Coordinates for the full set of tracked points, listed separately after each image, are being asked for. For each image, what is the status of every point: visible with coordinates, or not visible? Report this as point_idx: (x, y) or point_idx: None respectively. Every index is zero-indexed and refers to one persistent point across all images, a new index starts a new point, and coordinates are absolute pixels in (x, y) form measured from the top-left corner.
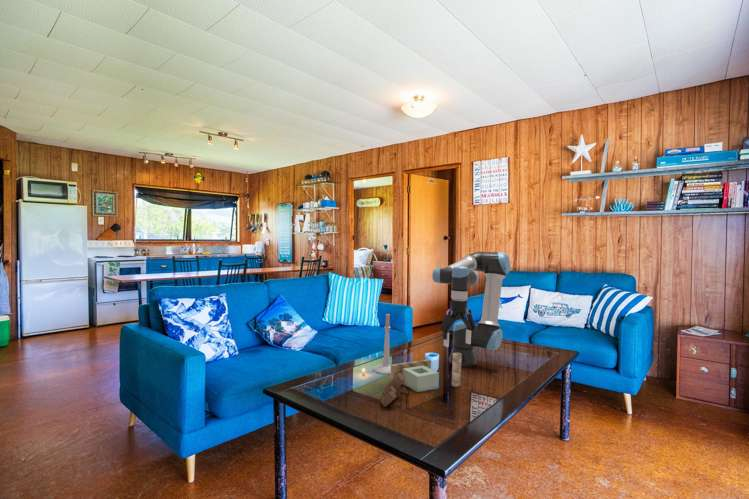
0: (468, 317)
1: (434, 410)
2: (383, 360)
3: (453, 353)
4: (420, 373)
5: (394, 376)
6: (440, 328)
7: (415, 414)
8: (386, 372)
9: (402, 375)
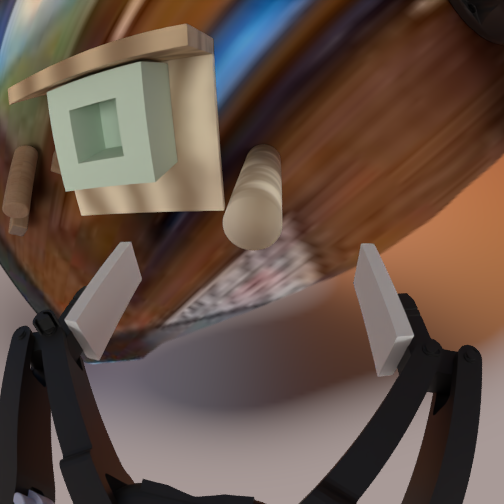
0: (419, 495)
1: None
2: None
3: (232, 209)
4: (82, 164)
5: (41, 95)
6: (16, 347)
7: (70, 259)
8: None
9: (15, 207)
